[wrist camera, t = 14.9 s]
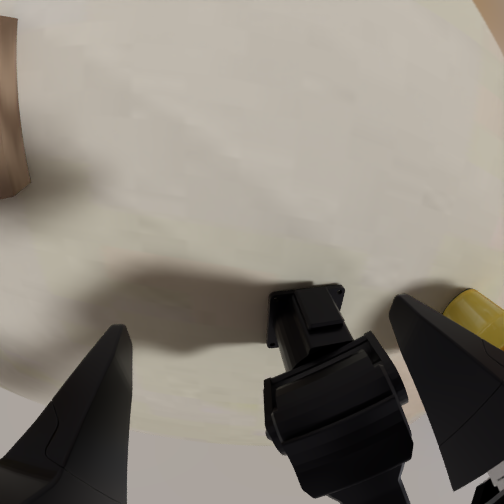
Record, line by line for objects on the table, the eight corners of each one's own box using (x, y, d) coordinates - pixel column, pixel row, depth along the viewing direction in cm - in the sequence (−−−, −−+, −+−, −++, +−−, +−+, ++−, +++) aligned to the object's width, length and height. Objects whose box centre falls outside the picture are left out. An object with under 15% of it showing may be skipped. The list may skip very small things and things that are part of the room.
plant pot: (415, 345, 34) (451, 403, 25) (448, 280, 28) (500, 341, 20) (464, 331, 35) (499, 378, 27) (496, 273, 30) (541, 320, 22)
